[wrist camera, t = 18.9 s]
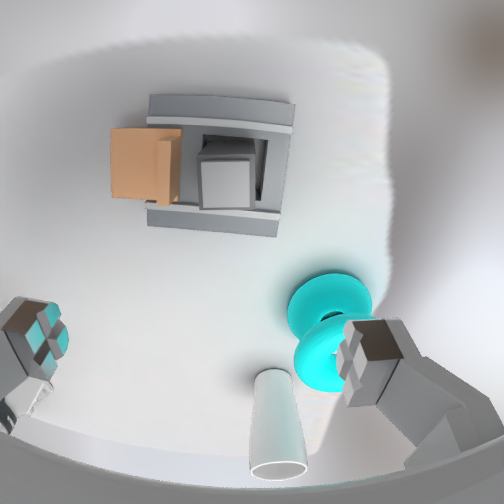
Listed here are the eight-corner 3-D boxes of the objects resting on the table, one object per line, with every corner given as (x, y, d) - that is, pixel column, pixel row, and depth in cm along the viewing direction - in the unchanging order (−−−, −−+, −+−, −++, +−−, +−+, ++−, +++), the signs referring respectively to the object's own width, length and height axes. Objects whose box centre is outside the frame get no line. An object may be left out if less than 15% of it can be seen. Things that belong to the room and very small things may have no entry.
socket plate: (274, 225, 31) (276, 240, 28) (155, 214, 31) (145, 228, 27) (290, 104, 26) (296, 104, 23) (159, 95, 25) (148, 94, 22)
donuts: (337, 407, 30) (273, 373, 27) (322, 346, 39) (268, 308, 36) (412, 356, 27) (359, 308, 24) (382, 299, 36) (332, 251, 33)
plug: (254, 181, 29) (255, 212, 22) (212, 182, 29) (198, 213, 22) (254, 140, 27) (255, 155, 20) (210, 141, 27) (194, 157, 20)
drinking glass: (281, 396, 44) (288, 483, 31) (241, 385, 43) (239, 477, 29) (305, 370, 41) (320, 464, 28) (262, 358, 40) (266, 458, 27)
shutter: (179, 198, 27) (169, 213, 23) (115, 194, 26) (97, 208, 23) (182, 128, 24) (171, 133, 20) (114, 128, 24) (95, 133, 20)
